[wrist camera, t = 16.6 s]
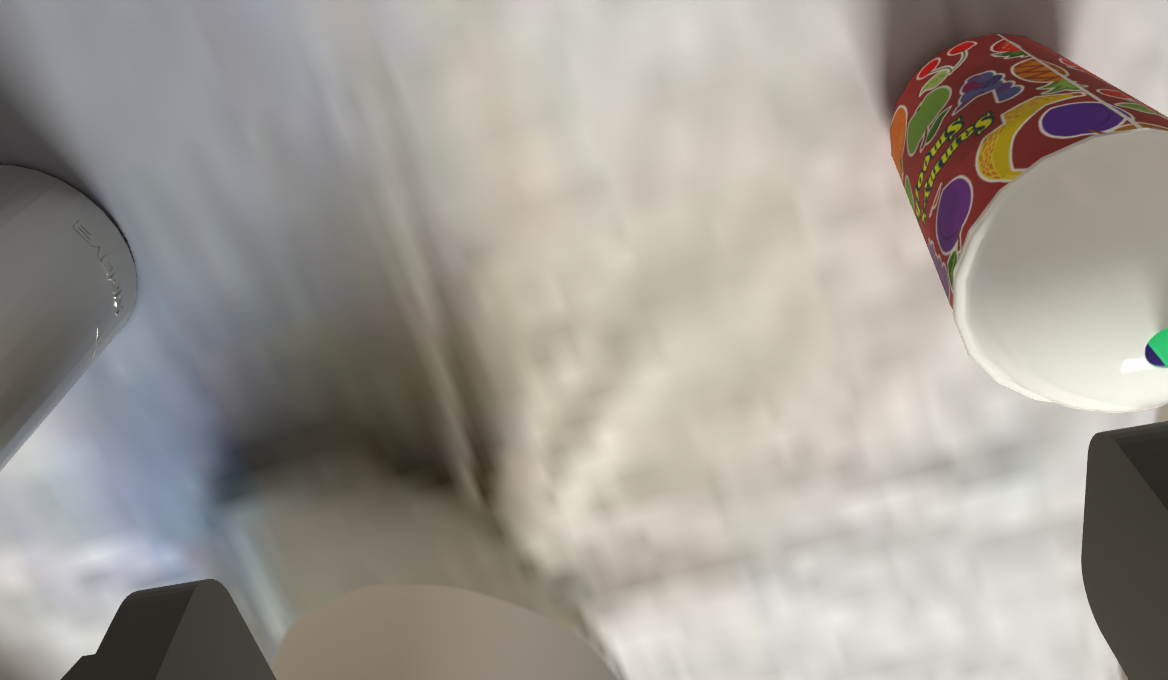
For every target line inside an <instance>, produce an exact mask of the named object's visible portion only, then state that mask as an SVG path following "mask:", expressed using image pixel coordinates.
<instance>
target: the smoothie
mask: <svg viewBox="0 0 1168 680" xmlns="http://www.w3.org/2000/svg"><path fill="white" fill-rule="evenodd" d="M890 139H891V154H892V157H893V160H894V162H895V165H896V167H897V170H898V172H899V175H900V177H901V180H902V183H903V185H904V188H905V190H906V193H907V195H908V198H909V200H910V203H911V206H912V208H913V211H914V213H915V216H916V218H917V221H918V223H919V226H920V229H921V231H922V234H923V236H924V239H925V241H926V244H927V247H928V249H929V252H930V254H931V257H932V259H933V262H934V264H935V267H936V270H937V272H938V275H939V277H940V280H941V282H942V285H943V287H944V290H945V293H946V295H947V298H948V300H949V303H950V305H951V307H952V309H953V316H954V320H955V323H956V325H957V328H958V330H959V333H960V335H961V338H962V340H963V343H964V345H965V348H966V350H967V353H968V355H969V356H970V357H971V358H972V359H973V360H974V361H975V362H976V363H977V364H978V365H979V366H980V367H981V368H982V369H983V370H984V371H985V372H986V373H987V374H988V375H989V376H990V377H991V378H992V379H993V380H994V381H995V382H997V383H999V384H1001V385H1003V386H1005V387H1007V388H1009V389H1012V390H1014V391H1016V392H1018V393H1020V394H1022V395H1024V396H1027V397H1029V398H1031V399H1033V400H1040V401H1047V402H1055V403H1057V404H1060V405H1062V406H1065V407H1068V408H1075V409H1083V410H1090V411H1098V412H1106V413H1122V412H1131V411H1140V410H1149V409H1154V408H1157V407H1160V406H1162V405H1165V404H1168V117H1166V116H1165V115H1163V114H1161V113H1159V112H1158V111H1156V110H1154V109H1153V108H1151V107H1149V106H1147V105H1146V104H1144V103H1142V102H1140V101H1139V100H1137V99H1135V98H1134V97H1132V96H1130V95H1128V94H1127V93H1125V92H1123V91H1121V90H1120V89H1118V88H1116V87H1115V86H1113V85H1111V84H1109V83H1108V82H1106V81H1104V80H1102V79H1101V78H1099V77H1097V76H1096V75H1094V74H1092V73H1090V72H1089V71H1087V70H1085V69H1083V68H1082V67H1080V66H1078V65H1077V64H1075V63H1073V62H1071V61H1070V60H1068V59H1066V58H1064V57H1063V56H1061V55H1059V54H1058V53H1056V52H1054V51H1052V50H1051V49H1049V48H1047V47H1045V46H1043V45H1041V44H1039V43H1037V42H1035V41H1033V40H1031V39H1029V38H1027V37H1022V36H1014V35H1005V34H991V35H986V36H981V37H976V38H971V39H966V40H964V41H962V42H960V43H958V44H956V45H954V46H952V47H950V48H948V49H946V50H944V51H942V52H940V53H938V54H936V55H935V56H934V57H933V58H932V59H931V60H930V61H929V62H928V63H927V64H926V65H924V66H923V67H922V68H921V69H920V70H919V71H918V72H917V73H916V74H915V75H914V76H913V77H912V79H911V80H910V82H909V83H908V85H907V87H906V88H905V90H904V91H903V93H902V95H901V96H900V98H899V99H898V101H897V104H896V108H895V111H894V115H893V119H892V123H891V127H890Z"/></svg>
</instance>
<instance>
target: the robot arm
mask: <svg viewBox="0 0 1168 680" xmlns="http://www.w3.org/2000/svg"><path fill="white" fill-rule="evenodd" d="M137 288H138V286H137V277H136V268H135V265H134V262H133V259H132V256H131V254H130V251H129V248H128V246H127V244H126V243H125V241H124V239H123V238H122V236H121V234H120V232H119V231H118V229H117V228H116V226H115V225H114V224H113V223H112V222H111V220H110V219H109V218H108V217H107V216H106V215H105V213H104V212H103V211H102V210H101V209H100V208H99V207H98V206H96V205H95V204H94V203H93V202H92V201H91V200H89V199H88V198H87V197H86V196H85V195H84V194H82V193H81V192H79V191H77V190H76V189H74V188H73V187H71V186H69V185H68V184H66V183H64V182H63V181H61V180H59V179H57V178H54V177H52V176H49V175H47V174H44V173H42V172H40V171H37V170H32V169H28V168H23V167H19V166H14V165H0V471H1V470H2V469H3V468H4V466H5V465H6V464H7V463H8V462H9V461H10V459H11V458H12V457H13V456H14V455H15V453H16V452H17V451H18V450H19V449H20V448H21V446H22V445H23V444H24V443H25V442H26V441H27V439H28V438H29V437H30V436H31V435H32V434H33V432H34V431H35V430H36V429H37V428H38V427H39V425H40V424H41V423H42V422H43V421H44V419H45V418H46V417H47V416H48V415H49V414H50V412H51V411H52V410H53V409H54V408H55V407H56V405H57V404H58V403H59V402H60V401H61V400H62V398H63V397H64V396H65V395H66V394H67V393H68V391H69V390H70V389H71V388H72V387H73V386H74V384H75V383H76V382H77V381H78V380H79V378H80V377H81V376H82V375H83V374H84V373H85V372H86V371H87V369H88V368H89V367H90V366H91V365H92V363H93V362H94V361H95V360H96V359H97V357H98V356H99V355H100V354H101V353H102V351H103V350H104V349H105V348H106V347H107V345H108V344H109V343H110V342H111V341H112V339H113V338H114V337H115V336H116V335H117V333H118V332H119V331H120V330H121V329H122V328H123V326H124V325H125V324H126V323H127V322H128V320H129V318H130V316H131V313H132V311H133V309H134V307H135V303H136V296H137ZM1081 564H1082V575H1083V581H1084V586H1085V590H1086V594H1087V598H1088V601H1089V604H1090V607H1091V610H1092V613H1093V615H1094V618H1095V620H1096V622H1097V625H1098V627H1099V629H1100V631H1101V632H1102V634H1103V636H1104V638H1105V639H1106V641H1107V643H1108V645H1109V646H1110V648H1111V650H1112V652H1113V653H1114V655H1115V657H1116V658H1117V660H1118V662H1119V664H1120V665H1121V667H1122V669H1123V670H1124V672H1125V674H1126V675H1127V677H1128V679H1129V680H1168V421H1165V422H1159V423H1153V424H1147V425H1141V426H1135V427H1129V428H1123V429H1117V430H1111V431H1105V432H1099V433H1097V434H1095V435H1094V436H1093V437H1092V439H1091V441H1090V445H1089V449H1088V460H1087V476H1086V492H1085V508H1084V524H1083V540H1082V556H1081ZM61 680H276V678H275V676H274V674H273V673H272V671H271V669H270V667H269V665H268V663H267V662H266V660H265V658H264V656H263V654H262V652H261V651H260V649H259V647H258V645H257V643H256V641H255V640H254V638H253V636H252V634H251V632H250V630H249V629H248V627H247V625H246V623H245V621H244V619H243V618H242V616H241V614H240V612H239V610H238V608H237V607H236V605H235V603H234V601H233V599H232V598H231V596H230V594H229V592H228V591H227V589H226V588H225V587H224V586H223V585H222V584H221V583H220V582H218V581H217V580H214V579H206V580H200V581H194V582H188V583H182V584H176V585H170V586H164V587H158V588H152V589H146V590H140V591H136V592H133V593H131V594H130V595H129V596H127V597H126V599H125V600H124V601H123V602H122V604H121V605H120V607H119V609H118V611H117V613H116V615H115V617H114V619H113V621H112V622H111V624H110V626H109V628H108V630H107V632H106V634H105V636H104V638H103V640H102V642H101V644H100V646H99V648H98V650H97V652H96V654H93V655H87V656H82V657H81V658H80V659H79V660H78V661H77V662H76V664H75V665H74V666H73V667H72V668H71V669H70V670H69V671H68V672H67V673H66V674H65V675H64V677H63V678H62V679H61Z"/></svg>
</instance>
